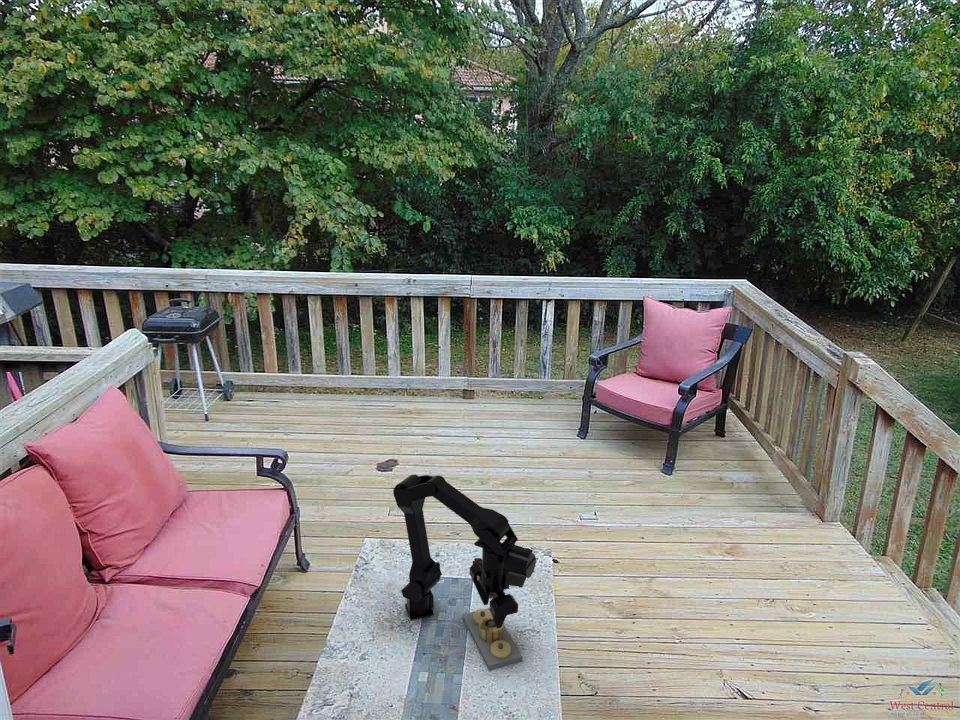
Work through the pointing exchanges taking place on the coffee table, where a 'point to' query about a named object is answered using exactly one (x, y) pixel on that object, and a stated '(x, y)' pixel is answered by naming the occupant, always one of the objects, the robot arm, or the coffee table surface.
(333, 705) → the coffee table surface
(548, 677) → the coffee table surface
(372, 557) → the coffee table surface
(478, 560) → the bolt
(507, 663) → the gear board
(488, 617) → the brass gear
